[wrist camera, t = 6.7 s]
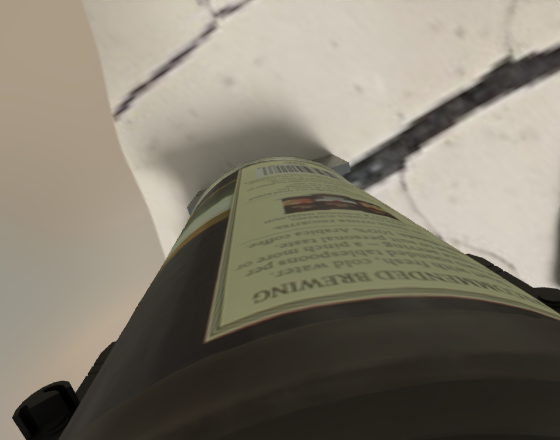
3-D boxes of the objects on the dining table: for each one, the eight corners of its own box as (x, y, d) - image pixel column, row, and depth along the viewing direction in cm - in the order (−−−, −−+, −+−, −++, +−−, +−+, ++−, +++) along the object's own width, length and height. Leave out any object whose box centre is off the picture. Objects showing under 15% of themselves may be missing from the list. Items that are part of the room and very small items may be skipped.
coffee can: (231, 357, 19) (184, 930, 6) (149, 199, 16) (-430, 652, 2) (394, 296, 19) (760, 742, 5) (344, 123, 16) (949, 145, 2)
